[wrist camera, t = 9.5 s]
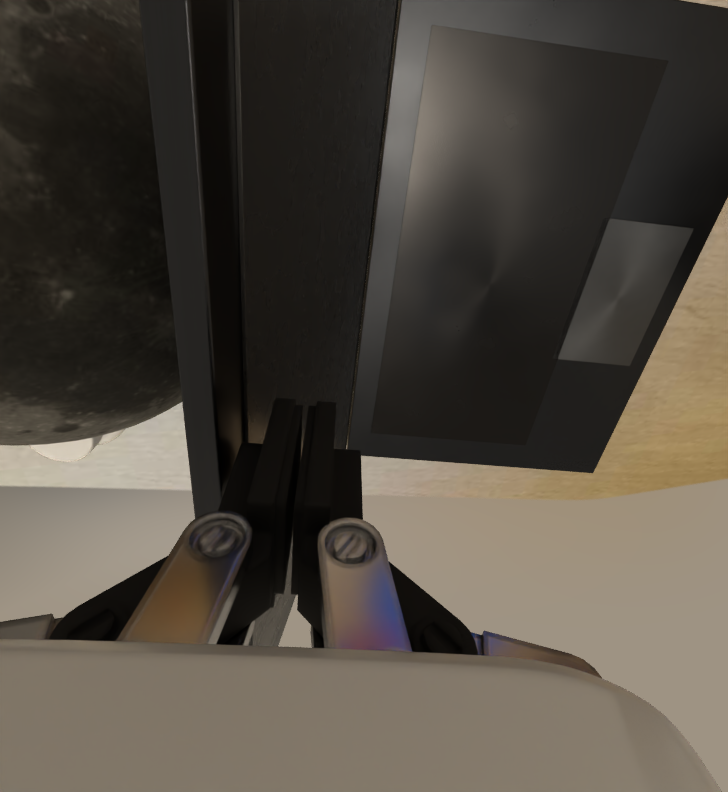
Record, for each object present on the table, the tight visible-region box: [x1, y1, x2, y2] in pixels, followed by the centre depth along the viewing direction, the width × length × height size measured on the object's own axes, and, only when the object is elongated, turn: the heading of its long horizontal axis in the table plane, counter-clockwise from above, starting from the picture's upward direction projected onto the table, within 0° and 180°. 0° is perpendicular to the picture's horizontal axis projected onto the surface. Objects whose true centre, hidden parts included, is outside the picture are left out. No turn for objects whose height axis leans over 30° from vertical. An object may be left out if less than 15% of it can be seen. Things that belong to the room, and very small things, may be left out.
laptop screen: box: [139, 0, 399, 647], centre depth 20 cm, size 21×30×1 cm
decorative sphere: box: [0, 0, 182, 445], centre depth 19 cm, size 20×20×20 cm
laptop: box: [347, 0, 728, 473], centre depth 30 cm, size 21×30×2 cm
